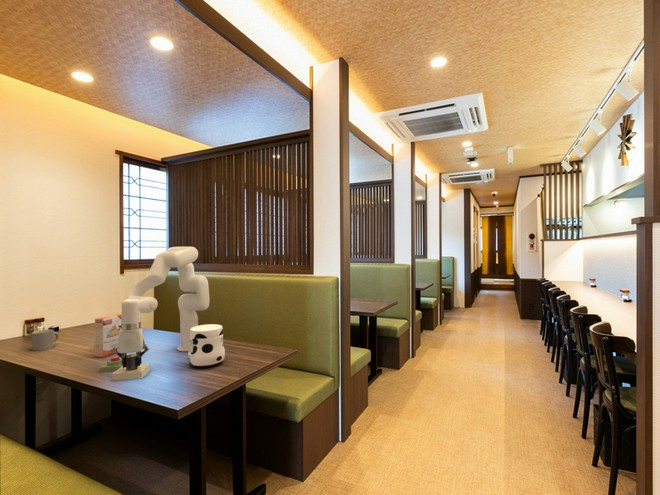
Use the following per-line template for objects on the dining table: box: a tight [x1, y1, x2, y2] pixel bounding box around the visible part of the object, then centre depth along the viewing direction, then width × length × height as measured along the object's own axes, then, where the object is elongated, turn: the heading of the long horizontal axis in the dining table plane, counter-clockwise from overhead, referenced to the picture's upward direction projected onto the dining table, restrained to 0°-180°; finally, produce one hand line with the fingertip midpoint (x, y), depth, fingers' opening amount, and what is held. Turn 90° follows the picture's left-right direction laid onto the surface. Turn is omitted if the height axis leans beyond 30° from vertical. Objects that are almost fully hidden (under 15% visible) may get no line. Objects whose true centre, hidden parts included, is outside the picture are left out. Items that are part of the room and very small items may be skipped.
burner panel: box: [111, 363, 151, 381], centre depth 154 cm, size 12×10×3 cm
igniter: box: [99, 357, 122, 373], centre depth 163 cm, size 10×8×4 cm
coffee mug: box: [31, 329, 60, 352], centre depth 202 cm, size 13×10×10 cm
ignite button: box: [110, 355, 120, 362], centre depth 163 cm, size 4×4×2 cm
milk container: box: [187, 323, 226, 368], centre depth 168 cm, size 17×17×18 cm
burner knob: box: [126, 353, 138, 371], centre depth 154 cm, size 5×5×6 cm
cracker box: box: [94, 313, 122, 358], centre depth 188 cm, size 14×6×21 cm, turn 168°
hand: (131, 366), depth 154 cm, fingers closed on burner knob, 4 cm apart
